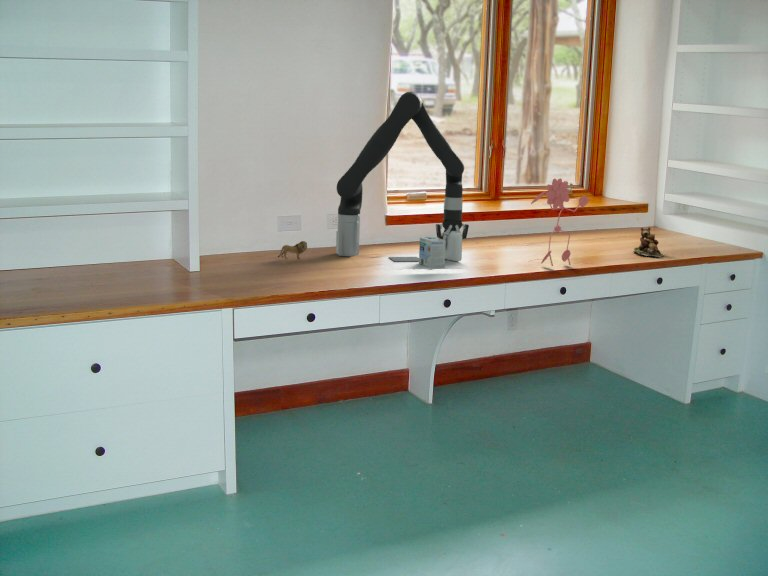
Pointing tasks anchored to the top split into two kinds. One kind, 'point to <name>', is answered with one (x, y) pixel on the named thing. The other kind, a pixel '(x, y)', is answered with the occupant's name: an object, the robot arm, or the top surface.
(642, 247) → the bear figurine
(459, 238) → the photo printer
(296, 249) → the lion figurine
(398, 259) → the slate pad
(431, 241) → the light bulb box
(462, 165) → the robot arm
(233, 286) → the top surface
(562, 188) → the figurine
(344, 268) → the top surface
